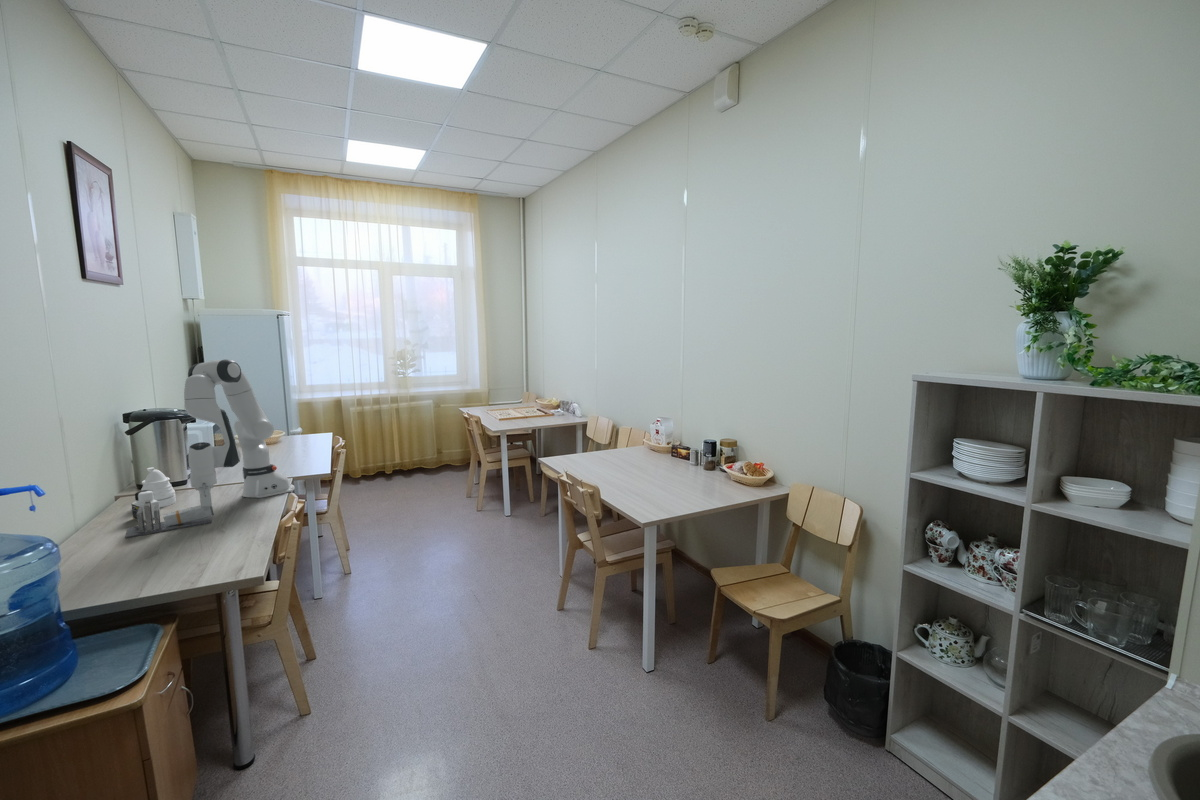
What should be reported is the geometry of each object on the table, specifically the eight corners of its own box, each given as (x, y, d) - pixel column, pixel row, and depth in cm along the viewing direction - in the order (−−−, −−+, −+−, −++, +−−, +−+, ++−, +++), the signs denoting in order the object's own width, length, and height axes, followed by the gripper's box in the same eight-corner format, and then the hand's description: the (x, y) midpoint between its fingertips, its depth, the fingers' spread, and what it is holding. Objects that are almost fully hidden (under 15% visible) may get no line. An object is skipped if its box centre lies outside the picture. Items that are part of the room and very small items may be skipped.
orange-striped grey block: (213, 511, 224) (211, 502, 223) (213, 514, 221) (211, 505, 220) (166, 523, 215) (163, 514, 214) (166, 527, 211) (163, 517, 210)
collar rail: (210, 515, 227) (208, 490, 225) (211, 522, 218) (209, 497, 216) (128, 529, 210) (125, 502, 209) (125, 538, 201) (122, 510, 199)
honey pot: (159, 509, 234) (155, 470, 232) (132, 508, 234) (127, 470, 232) (183, 500, 247) (179, 463, 244) (157, 499, 247) (153, 463, 245)
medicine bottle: (132, 518, 222) (129, 492, 220) (153, 513, 228) (150, 487, 226) (140, 521, 218) (137, 494, 217) (160, 516, 225) (158, 490, 223)
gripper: (213, 485, 213) (217, 516, 215) (212, 474, 229) (215, 504, 231) (194, 488, 209) (198, 520, 211) (194, 476, 225) (197, 506, 227)
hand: (207, 511), depth 221 cm, fingers closed on orange-striped grey block, 4 cm apart
